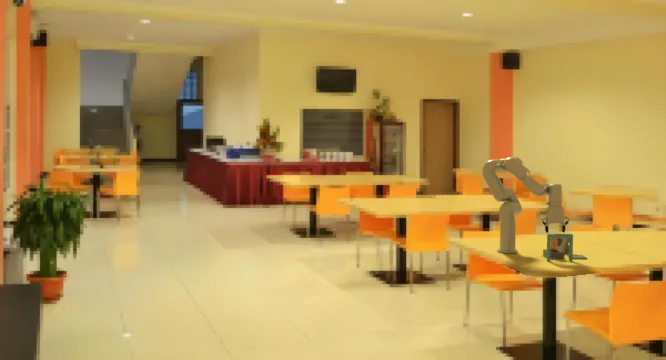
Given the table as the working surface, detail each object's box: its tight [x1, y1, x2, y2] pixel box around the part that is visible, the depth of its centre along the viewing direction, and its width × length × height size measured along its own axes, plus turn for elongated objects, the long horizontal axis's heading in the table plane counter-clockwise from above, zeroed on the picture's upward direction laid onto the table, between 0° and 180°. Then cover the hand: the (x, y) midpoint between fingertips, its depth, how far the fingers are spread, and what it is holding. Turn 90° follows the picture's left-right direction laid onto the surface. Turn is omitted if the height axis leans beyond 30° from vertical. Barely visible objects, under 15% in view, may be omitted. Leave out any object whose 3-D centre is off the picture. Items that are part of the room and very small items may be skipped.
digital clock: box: [557, 238, 569, 254], centre depth 438 cm, size 16×9×11 cm, turn 174°
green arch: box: [546, 233, 574, 262], centre depth 407 cm, size 3×14×16 cm, turn 88°
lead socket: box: [542, 248, 566, 260], centre depth 420 cm, size 10×10×4 cm
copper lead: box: [550, 238, 558, 252], centre depth 419 cm, size 4×4×12 cm
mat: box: [566, 254, 588, 260], centre depth 419 cm, size 10×9×1 cm
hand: (555, 232), depth 418 cm, fingers open, 9 cm apart
